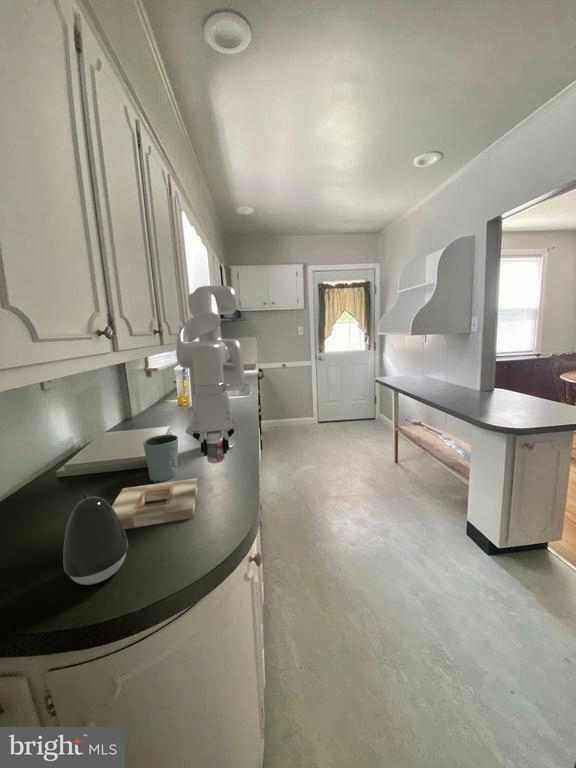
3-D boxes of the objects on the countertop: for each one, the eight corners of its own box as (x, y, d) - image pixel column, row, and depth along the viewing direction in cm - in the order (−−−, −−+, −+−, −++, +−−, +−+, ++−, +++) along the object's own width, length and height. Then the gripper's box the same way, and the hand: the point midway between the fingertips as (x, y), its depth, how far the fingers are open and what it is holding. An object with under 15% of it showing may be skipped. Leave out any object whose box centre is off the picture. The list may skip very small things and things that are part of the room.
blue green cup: (140, 481, 93) (135, 444, 91) (161, 467, 103) (157, 433, 101) (169, 483, 90) (164, 446, 88) (187, 469, 100) (184, 434, 98)
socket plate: (124, 496, 84) (122, 487, 84) (198, 486, 88) (197, 477, 88) (102, 532, 69) (101, 522, 68) (193, 517, 73) (192, 507, 72)
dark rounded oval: (122, 545, 64) (112, 479, 62) (137, 571, 57) (127, 497, 54) (63, 572, 57) (49, 498, 55) (72, 606, 50) (57, 523, 47)
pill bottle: (220, 464, 81) (218, 435, 80) (204, 463, 82) (201, 434, 81) (227, 456, 86) (225, 429, 84) (212, 456, 87) (209, 428, 85)
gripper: (241, 384, 85) (245, 444, 89) (178, 389, 82) (185, 451, 85) (243, 390, 78) (247, 454, 82) (174, 395, 75) (182, 463, 78)
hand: (215, 452), depth 84 cm, fingers closed on pill bottle, 4 cm apart
